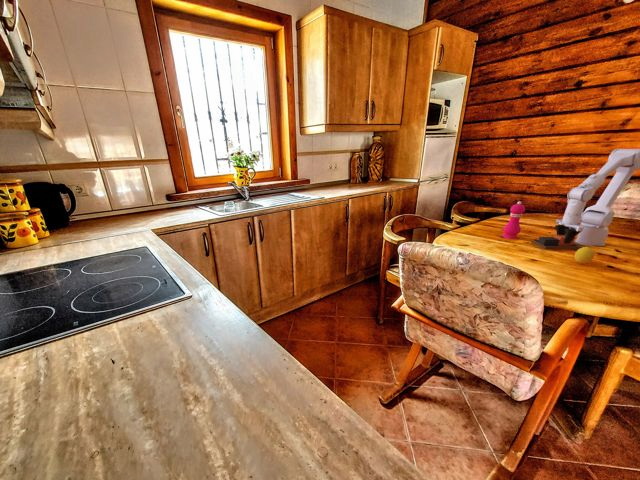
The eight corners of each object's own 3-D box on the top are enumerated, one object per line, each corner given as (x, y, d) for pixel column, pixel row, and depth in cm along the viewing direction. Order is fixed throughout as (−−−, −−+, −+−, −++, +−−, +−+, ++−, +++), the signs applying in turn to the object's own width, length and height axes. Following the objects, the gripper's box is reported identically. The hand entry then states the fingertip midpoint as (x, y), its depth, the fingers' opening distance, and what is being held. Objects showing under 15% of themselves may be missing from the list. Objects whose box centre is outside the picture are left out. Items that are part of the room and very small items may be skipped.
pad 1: (550, 244, 138) (553, 236, 136) (556, 247, 134) (559, 239, 132) (536, 244, 139) (539, 236, 137) (542, 247, 135) (545, 239, 133)
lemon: (582, 261, 119) (589, 244, 116) (593, 267, 114) (601, 249, 111) (567, 262, 120) (574, 244, 117) (578, 267, 115) (586, 249, 111)
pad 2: (565, 242, 136) (568, 235, 135) (572, 245, 132) (575, 237, 131) (551, 242, 137) (554, 234, 136) (558, 245, 133) (561, 237, 132)
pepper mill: (518, 240, 146) (529, 202, 138) (501, 239, 150) (511, 202, 142) (517, 236, 152) (527, 200, 144) (501, 235, 156) (510, 199, 148)
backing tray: (565, 243, 139) (566, 239, 138) (581, 250, 130) (582, 246, 129) (531, 243, 142) (532, 239, 141) (544, 250, 133) (545, 246, 132)
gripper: (552, 210, 136) (543, 236, 142) (575, 217, 123) (564, 246, 129) (569, 210, 135) (559, 236, 140) (593, 217, 122) (582, 246, 127)
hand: (563, 241), depth 134 cm, fingers closed on pad 2, 4 cm apart
